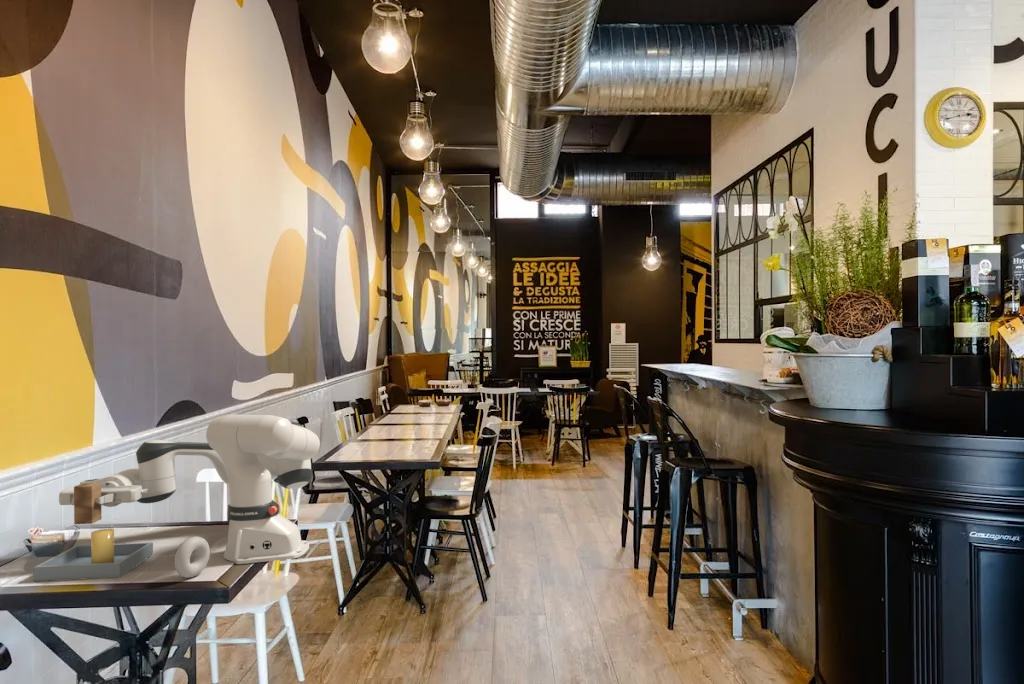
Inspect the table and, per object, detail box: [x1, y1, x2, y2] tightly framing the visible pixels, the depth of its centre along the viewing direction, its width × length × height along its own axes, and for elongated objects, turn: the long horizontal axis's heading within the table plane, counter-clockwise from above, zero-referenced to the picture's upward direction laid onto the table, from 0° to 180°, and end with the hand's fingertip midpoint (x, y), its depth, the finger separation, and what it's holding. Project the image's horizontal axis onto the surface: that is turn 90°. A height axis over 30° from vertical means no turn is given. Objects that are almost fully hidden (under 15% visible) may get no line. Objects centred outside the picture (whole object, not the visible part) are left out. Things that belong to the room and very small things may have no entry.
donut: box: [174, 535, 211, 579], centre depth 159 cm, size 10×4×10 cm, turn 162°
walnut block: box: [73, 483, 102, 525], centre depth 170 cm, size 4×4×10 cm
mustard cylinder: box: [90, 528, 115, 564], centre depth 163 cm, size 5×5×10 cm
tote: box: [33, 541, 154, 582], centre depth 167 cm, size 20×18×4 cm
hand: (85, 501), depth 169 cm, fingers closed on walnut block, 4 cm apart
